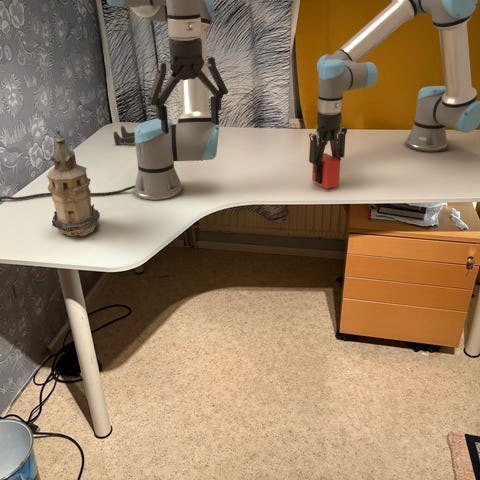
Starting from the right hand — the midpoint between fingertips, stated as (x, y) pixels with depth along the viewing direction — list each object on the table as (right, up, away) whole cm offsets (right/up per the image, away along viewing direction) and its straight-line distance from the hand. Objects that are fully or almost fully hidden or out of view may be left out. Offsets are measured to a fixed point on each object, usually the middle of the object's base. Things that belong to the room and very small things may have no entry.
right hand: (325, 180), depth 179 cm
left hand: (-41, +8, -46) cm, 62 cm away
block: (0, -1, +1) cm, 1 cm away
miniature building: (-76, -17, -24) cm, 81 cm away
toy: (-64, +20, +41) cm, 78 cm away
